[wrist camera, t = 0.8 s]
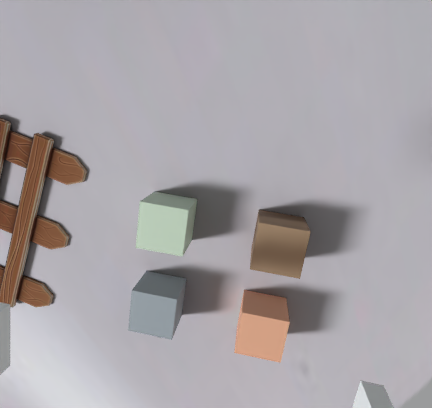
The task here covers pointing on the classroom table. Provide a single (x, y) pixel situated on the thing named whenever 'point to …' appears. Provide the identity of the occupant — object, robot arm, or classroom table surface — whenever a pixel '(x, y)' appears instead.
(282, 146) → the classroom table surface
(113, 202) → the classroom table surface
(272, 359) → the terracotta block
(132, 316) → the slate block
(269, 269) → the walnut block
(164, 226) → the sage block
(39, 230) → the decorative fence
